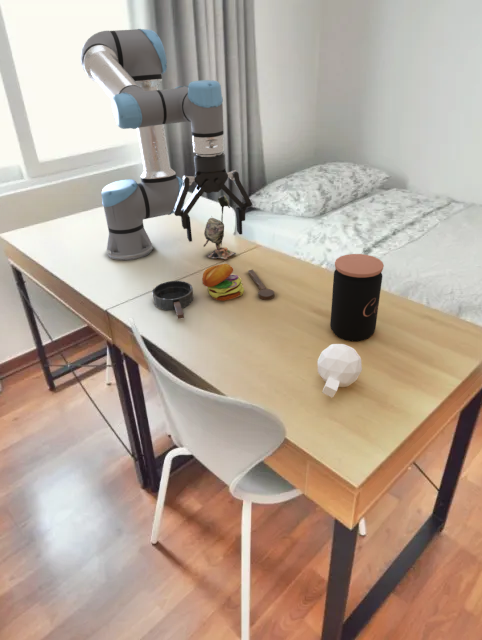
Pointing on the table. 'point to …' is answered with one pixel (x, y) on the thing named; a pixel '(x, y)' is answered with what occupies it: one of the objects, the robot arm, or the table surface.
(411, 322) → the table surface
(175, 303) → the pan handle
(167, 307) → the pan
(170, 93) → the robot arm
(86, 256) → the table surface
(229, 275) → the cheeseburger
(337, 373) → the perfume bottle
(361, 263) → the coffee jar
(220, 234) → the grey brown figurine
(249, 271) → the wooden spoon
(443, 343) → the table surface
